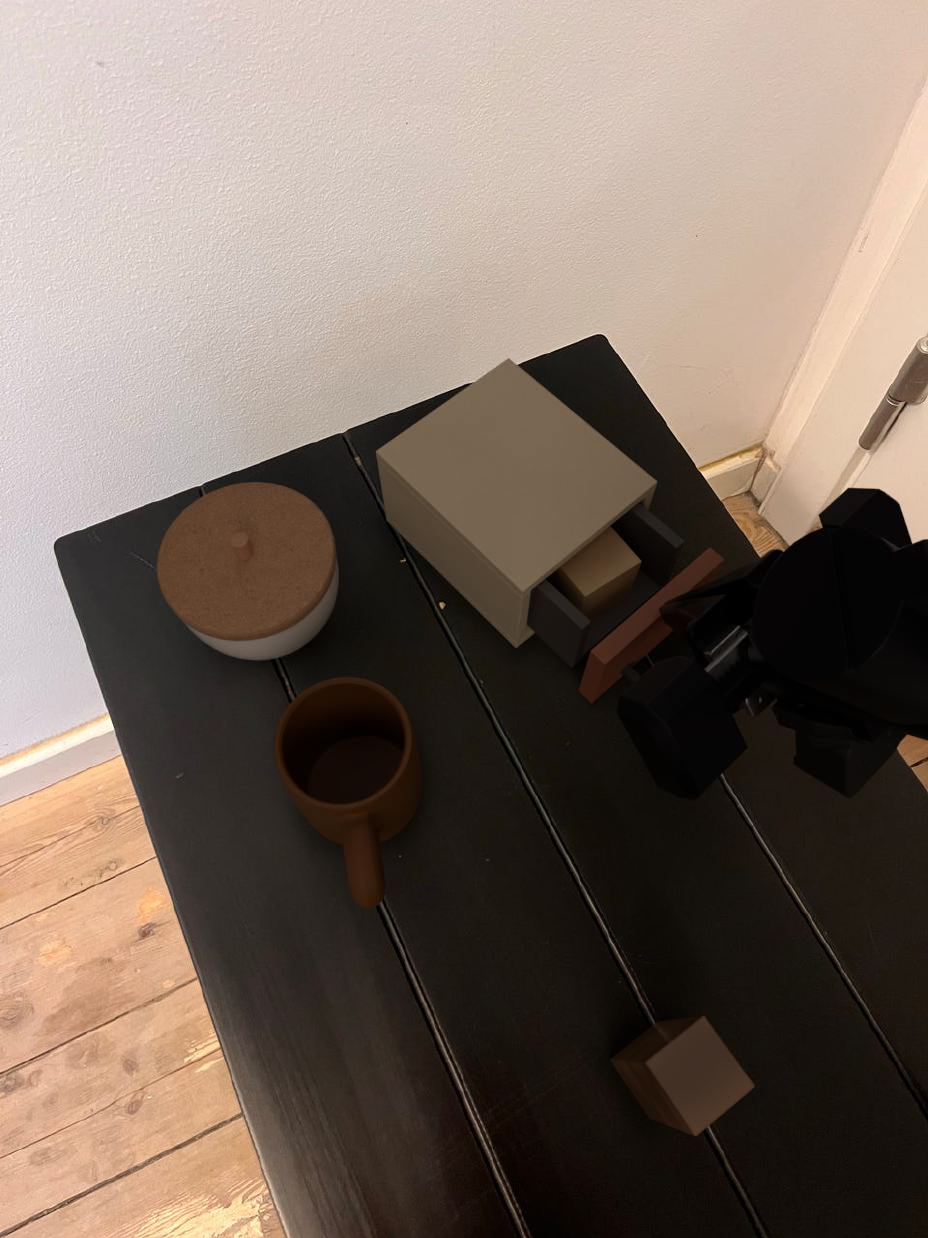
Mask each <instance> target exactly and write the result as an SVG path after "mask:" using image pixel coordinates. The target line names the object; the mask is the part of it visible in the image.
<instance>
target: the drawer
mask: <svg viewBox="0 0 928 1238" xmlns="http://www.w3.org/2000/svg"><path fill="white" fill-rule="evenodd" d="M610 526H611V527H612V528H613V529H614V531H615V532H616V533H617V534H618V535H619V536H620V537H621V539H622V540H623V541H624V542H625V543H626V544H627V545H628V546H629V548H630V549H631V550H632V551H633V552H634V553H635V554H636V556H637V557H638V558H639V559H640V560H641V565H640V567H639V570H638V573H637V576H636V579H635V582H634V584H633V587H632V590H631V593H630V595H628V596H627V597H625V598H624V599H622V600H621V601H619V602H617V603H616V604H614V605H613V606H611V607H609V608H608V609H606V610H605V611H603V612H602V613H600V614H598V615H597V616H595V617H594V618H592V619H590V620H589V619H588V618H587V617H586V616H585V615H584V614H583V613H581V612H580V611H579V610H578V609H577V608H576V607H575V606H574V605H573V604H572V603H571V602H570V601H569V600H568V599H566V598H565V597H564V596H563V595H562V594H561V593H560V592H559V591H558V590H557V589H556V588H555V587H554V586H553V585H551V584H550V583H549V582H548V581H547V580H546V579H544V580H543V581H542V582H541V583H539V584H538V585H537V586H536V587H534V588H533V589H532V590H531V595H530V602H529V610H528V617H527V625H528V626H529V627H530V628H531V629H532V630H533V631H534V632H535V633H534V634H535V635H537V636H538V637H539V638H540V639H541V640H542V641H543V642H544V643H545V644H546V645H547V646H548V647H549V648H550V649H551V650H552V651H553V652H554V653H555V654H557V656H558V657H560V658H561V659H562V660H563V661H564V663H566V664H567V666H569V667H570V668H571V669H573V668H574V667H576V666H577V664H579V663H580V662H581V661H582V660H583V659H584V658H586V657H587V656H588V658H587V661H586V665H585V668H584V671H583V675H582V677H581V681H580V684H579V688H578V692H579V694H581V695H582V696H583V698H584V699H586V700H587V701H588V702H589V703H590V704H594V702H596V700H597V699H599V698H600V697H601V696H602V695H603V694H604V693H605V692H607V691H608V690H609V689H610V688H611V687H612V686H614V684H615V683H617V681H619V680H620V679H621V678H622V677H624V678H625V679H626V680H627V681H628V682H629V683H630V684H631V685H632V684H633V683H634V682H635V681H637V680H638V679H639V678H640V677H641V676H642V675H641V674H639V672H638V671H636V669H634V666H636V664H638V663H639V662H640V661H641V660H642V659H644V658H645V656H647V655H648V654H649V653H650V652H651V651H653V649H655V648H656V647H657V646H658V645H660V643H661V642H662V641H664V640H665V638H668V636H669V635H670V634H671V633H672V632H674V630H673V629H672V628H671V627H670V626H668V625H667V624H666V623H665V621H664V620H663V618H662V616H661V614H660V612H659V608H660V607H661V606H662V605H664V603H666V602H667V601H668V600H670V599H672V598H675V597H677V596H679V595H681V594H684V593H686V592H688V591H691V590H693V589H695V588H697V587H700V586H702V585H704V584H706V583H710V582H711V581H713V580H715V579H716V578H717V575H718V573H719V571H720V569H721V567H722V566H723V564H724V561H725V559H724V558H723V557H722V556H721V555H720V554H719V553H717V552H716V551H715V550H714V549H713V548H712V547H708V548H707V549H706V550H705V551H703V552H702V553H701V554H700V555H699V556H698V557H696V558H695V560H693V561H692V562H691V563H690V564H689V565H688V566H686V567H685V568H684V569H683V570H682V571H680V572H679V573H678V574H677V575H676V576H675V577H674V578H673V579H671V580H670V578H671V576H672V573H673V571H674V569H675V566H676V564H677V563H678V560H679V557H680V555H681V552H682V550H683V547H684V545H685V540H684V539H683V538H682V537H680V536H679V535H678V534H677V533H676V532H674V531H673V530H672V529H671V528H670V527H669V526H667V525H666V524H665V523H664V522H663V521H661V520H660V519H659V518H658V517H657V516H656V515H654V514H653V513H652V512H651V511H650V510H649V509H648V510H647V509H646V508H645V507H644V506H643V505H641V504H640V503H637V504H636V505H635V506H634V507H632V508H631V509H630V510H629V511H628V512H626V513H625V514H624V515H623V516H621V517H620V518H619V519H618V520H616V521H615V522H614V523H613V524H612V525H610ZM693 660H695V661H696V662H697V660H696V658H695V657H694V659H693ZM697 663H698V662H697Z"/></svg>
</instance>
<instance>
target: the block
mask: <svg viewBox="0 0 928 1238" xmlns="http://www.w3.org/2000/svg"><path fill="white" fill-rule="evenodd" d="M640 565H641V560H640V559H639V558H638V557H637V556H636V554H635V553H634V552H633V551H632V550H631V549H630V548H629V546H628V545H627V544H626V543H625V542H624V541H623V540H622V539H621V537H620V536H619V535H618V534H617V533H616V532H615V531H614V529H613V528H612V527H611V526H609V527H608V528H607V529H605V530H604V531H603V532H602V533H601V534H599V535H598V536H597V537H596V538H594V539H593V540H592V541H591V542H590V543H588V544H587V545H586V546H585V547H583V548H582V549H581V550H580V551H579V552H577V553H576V554H575V555H574V556H572V557H571V558H570V559H569V560H567V561H566V562H565V563H564V564H563V565H561V566H560V567H559V568H558V569H556V570H555V571H554V572H553V573H552V574H550V575H549V576H548V577H547V578H545V579H546V580H547V581H548V582H549V583H550V584H551V585H553V586H554V587H555V588H556V589H557V590H558V591H559V592H560V593H561V594H562V595H563V596H564V597H565V598H566V599H568V600H569V601H570V602H571V603H572V604H573V605H574V606H575V607H576V608H577V609H578V610H579V611H580V612H581V613H583V614H584V615H585V616H586V617H587V618H588V619H589V620H590V619H592V618H594V617H595V616H597V615H598V614H600V613H602V612H603V611H605V610H606V609H608V608H609V607H611V606H613V605H614V604H616V603H617V602H619V601H621V600H622V599H624V598H625V597H627V596H628V595H630V593H631V590H632V587H633V584H634V582H635V579H636V576H637V573H638V570H639V567H640Z"/></svg>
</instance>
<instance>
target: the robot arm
mask: <svg viewBox="0 0 928 1238" xmlns="http://www.w3.org/2000/svg"><path fill="white" fill-rule="evenodd" d="M818 518H819V522H820V525H821V528H818V529H815V530H812V531H810V532H808V533H806V534H805V535H803V536H802V537H800V538H799V539H797V540H795V541H794V542H792V543H791V545H789V546H788V547H787V548H786V549H785V550H782V549H778V548H774V549H770V550H768V551H767V552H766V553H764V554H763V555H762V556H760V557H759V558H756V559H755V560H752V561H750V562H747V563H746V564H744V565H742V566H740V567H738V568H735V569H734V570H732V571H729V572H727V573H726V574H724V575H722V576H720V577H716V578H715V579H714V580H713V581H711V582H710V583H706V584H704V585H702V586H700V587H697V588H695V589H693V590H691V591H688V592H686V593H684V594H681V595H679V596H677V597H675V598H672V599H670V600H668V601H667V602H666V603H664V605H662V606H661V607H660V608H659V612H660V614H661V616H662V618H663V620H664V621H665V623H666V624H667V625H668V626H670V627H671V628H672V629H673V632H675V633H676V634H677V635H678V636H679V637H680V638H682V639H683V640H684V641H685V642H686V643H687V644H688V646H689V647H690V650H691V652H692V654H693V656H694V659H695V658H696V660H697V662H698V663H697V662H696V661H695V660H694V659H692V658H690V657H689V658H688V657H685V656H681V655H676V656H672V657H669V658H666V659H663V660H659V661H656V662H655V663H654V664H653V665H651V667H649V669H647V670H646V671H645V672H644V673H643V674H642V675H641V677H640V678H639V679H638V680H637V681H635V682H634V683H633V684H632V683H631V685H630V686H629V687H628V688H626V690H624V691H623V692H622V693H620V695H619V698H618V702H617V707H616V714H617V715H618V718H619V719H620V722H621V723H622V725H623V727H624V728H625V730H626V732H627V734H628V735H629V738H630V739H631V741H632V743H633V745H634V747H635V748H636V750H637V752H638V755H639V756H640V758H641V759H642V761H643V763H644V765H645V767H646V768H647V771H648V772H649V774H650V776H651V778H652V779H653V781H654V784H655V785H656V787H657V788H658V789H660V790H662V791H664V792H666V793H668V794H671V795H672V796H674V797H677V798H678V799H683V800H690V801H696V800H697V799H698V798H700V796H701V795H702V794H703V793H705V791H706V790H708V788H710V786H711V785H712V784H713V783H714V782H715V781H716V780H717V779H718V778H720V777H721V775H722V774H723V773H724V772H725V771H727V769H729V767H731V765H733V763H734V762H735V761H737V760H738V758H739V757H741V755H742V754H743V753H744V752H745V751H746V750H747V749H748V748H749V747H748V745H747V743H746V741H745V738H744V737H743V735H742V732H741V731H740V728H739V725H738V724H737V722H736V719H735V718H734V716H733V715H734V714H736V713H738V712H739V711H740V710H742V709H743V710H745V711H746V713H747V715H748V716H750V717H752V718H758V717H759V716H760V715H761V714H762V713H763V712H764V711H765V710H766V709H767V708H768V707H769V706H770V705H771V704H772V703H773V702H775V700H776V702H775V703H774V704H773V705H772V706H771V710H772V713H773V715H774V717H775V719H776V721H777V723H778V725H779V727H784V728H786V729H790V730H793V731H794V733H795V734H794V735H795V755H794V756H793V757H792V761H793V765H794V767H796V768H798V769H800V770H801V771H803V772H804V773H806V774H807V775H808V776H811V777H812V778H813V779H815V780H817V781H819V782H821V784H824V785H826V786H827V787H829V788H831V789H832V790H834V791H835V792H837V793H838V794H840V795H841V796H843V797H845V798H847V799H851V798H853V797H855V795H857V793H859V792H860V791H861V790H862V788H864V786H866V785H867V783H868V782H869V781H870V780H871V779H872V778H873V776H875V775H876V773H877V772H878V771H879V770H880V769H881V768H882V767H883V766H884V765H885V764H886V763H887V762H888V761H889V759H890V758H891V757H892V756H893V755H894V753H895V752H896V751H897V749H898V747H899V746H900V744H901V742H902V741H903V740H904V739H905V738H907V736H911V737H913V738H917V739H919V740H920V739H921V740H923V741H927V742H928V538H924V539H923V538H922V539H920V540H918V541H916V542H913V541H912V538H911V535H910V532H909V528H908V526H907V522H906V518H905V517H904V514H903V510H902V507H901V504H900V503H899V501H898V500H897V499H895V498H894V497H893V496H892V495H890V494H888V493H887V492H886V491H884V490H883V489H880V488H874V487H873V488H871V487H869V488H868V487H847V488H846V489H845V490H844V491H843V492H841V494H839V496H837V497H836V498H835V499H834V500H833V501H832V502H831V503H830V504H828V505H827V506H826V507H825V508H824V509H823V510H822V511H821V512H820V513H818Z"/></svg>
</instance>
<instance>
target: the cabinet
mask: <svg viewBox="0 0 928 1238" xmlns="http://www.w3.org/2000/svg"><path fill="white" fill-rule="evenodd" d="M375 457H376V462H377V467H378V474H379V475H378V476H379V480H380V481H379V482H380V486H381V493H382V500H383V507H384V512H385V513H384V514H385V519H386V522H387V523H388V524H389V525H391V527H392V528H393V529H394V530H395V531H396V532H398V533H399V534H400V536H402V538H404V539H405V540H406V541H407V542H408V543H409V544H410V545H411V546H412V547H413V548H414V549H415V550H416V552H418V553H419V554H420V555H421V556H422V557H423V558H424V559H425V560H426V561H427V562H428V563H429V564H430V565H431V566H432V567H433V568H434V569H435V570H436V571H437V572H438V573H439V574H440V575H441V576H442V577H443V578H444V579H445V580H446V581H447V582H448V583H449V584H450V585H451V586H452V587H453V588H454V589H455V590H456V591H457V592H458V593H459V594H460V595H461V596H463V598H464V599H465V600H466V601H467V602H469V604H470V605H472V606H473V608H475V610H476V611H477V612H479V614H481V616H482V617H483V618H484V619H486V620H487V622H489V623H490V624H491V625H492V626H493V628H495V629H496V630H497V632H499V633H500V634H501V635H502V636H503V638H505V640H507V641H508V642H509V643H510V644H511V645H512V646H513V647H514V648H515V649H517V648H519V647H520V646H521V645H522V644H523V643H524V642H525V641H527V640H528V639H529V638H530V637H532V636H533V635H534V634H536V633H535V632H534V631H533V630H532V629H531V628H530V627H529V626H528V625H527V617H528V610H529V602H530V595H531V590H532V589H533V588H534V587H536V586H537V585H538V584H539V583H541V582H542V581H543V580H544V579H545V578H547V577H548V576H549V575H550V574H552V573H553V572H554V571H555V570H556V569H558V568H559V567H560V566H561V565H563V564H564V563H565V562H566V561H567V560H569V559H570V558H571V557H572V556H574V555H575V554H576V553H577V552H579V551H580V550H581V549H582V548H583V547H585V546H586V545H587V544H588V543H590V542H591V541H592V540H593V539H594V538H596V537H597V536H598V535H599V534H601V533H602V532H603V531H604V530H605V529H607V528H608V527H609V526H610V525H612V524H613V523H614V522H615V521H616V520H618V519H619V518H620V517H621V516H623V515H624V514H625V513H626V512H628V511H629V510H630V509H631V508H632V507H634V506H635V505H636V504H637V503H640V504H641V505H643V506H644V507H645V508H646V509H647V510H648V511H649V509H650V506H651V503H652V500H653V496H654V494H655V491H656V488H657V485H658V481H657V480H656V479H655V478H654V477H653V476H651V475H650V474H649V473H648V472H647V471H645V470H644V469H643V468H642V467H640V466H639V465H638V464H637V463H636V462H635V461H633V459H631V458H629V456H627V455H626V454H625V453H624V452H622V451H621V450H620V449H619V448H618V447H617V446H615V444H614V443H612V442H610V441H609V440H608V439H607V438H606V437H605V436H603V435H602V434H601V433H600V432H599V431H597V430H596V429H595V428H593V426H592V425H590V424H589V423H588V422H587V421H585V420H584V419H583V418H581V416H579V415H578V414H577V413H576V412H574V411H573V410H572V409H571V408H570V407H569V406H567V405H566V404H565V403H563V402H562V401H561V400H560V399H559V398H558V397H556V396H555V395H554V394H552V392H550V391H549V390H548V389H547V388H545V386H543V385H542V384H541V383H539V382H538V381H537V380H536V379H535V378H533V377H532V376H531V375H530V374H529V373H528V372H526V371H525V370H524V369H522V368H521V366H519V365H518V364H517V363H515V362H514V361H513V360H512V359H511V358H510V357H509V358H506V359H504V361H502V362H500V363H499V364H498V365H497V366H495V367H494V368H493V369H490V370H489V371H488V372H487V373H485V374H484V375H482V376H481V377H479V378H478V379H476V380H475V381H474V382H472V383H471V384H470V385H468V386H466V387H465V388H463V389H462V390H460V391H459V392H458V393H456V394H455V395H454V396H452V397H451V398H449V399H448V400H447V401H445V402H444V403H443V404H441V405H440V406H438V407H436V408H435V409H434V410H432V411H431V412H429V413H428V414H427V415H425V416H424V417H422V418H421V419H419V420H418V421H417V422H416V423H414V424H412V425H411V426H410V427H408V428H406V429H405V430H404V431H402V432H401V433H400V434H398V435H397V436H395V437H394V438H392V439H391V440H389V441H388V442H387V443H385V444H384V445H383V446H381V447H379V448H378V449H377V450H376V451H375Z"/></svg>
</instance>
